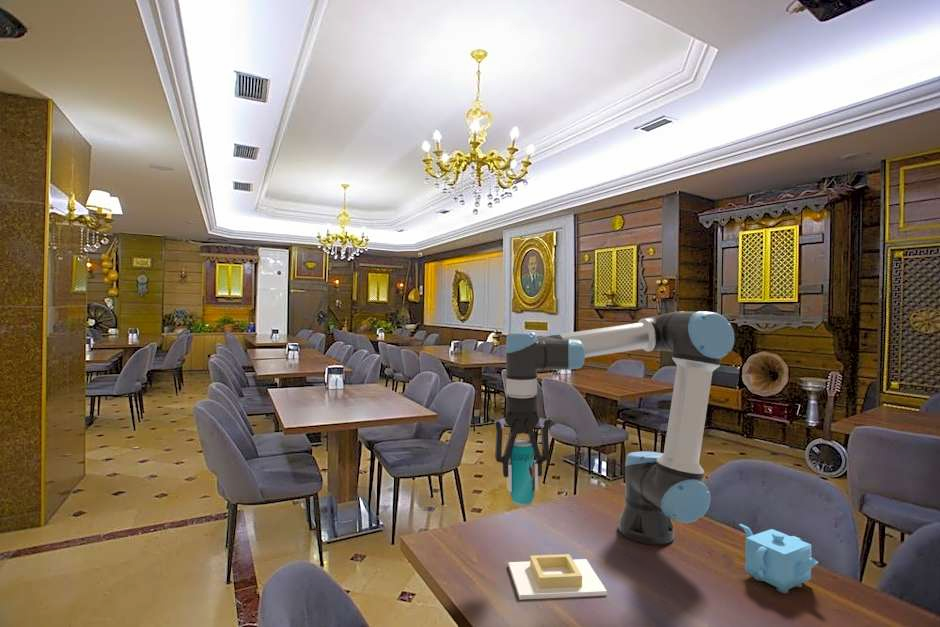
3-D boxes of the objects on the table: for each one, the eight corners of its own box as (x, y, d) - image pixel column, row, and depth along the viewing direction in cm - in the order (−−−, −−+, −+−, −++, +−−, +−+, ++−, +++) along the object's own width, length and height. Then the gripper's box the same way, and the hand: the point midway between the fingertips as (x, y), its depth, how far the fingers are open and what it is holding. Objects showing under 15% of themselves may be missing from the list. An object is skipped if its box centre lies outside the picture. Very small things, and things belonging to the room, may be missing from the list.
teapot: (796, 609, 104) (797, 557, 104) (719, 569, 120) (720, 524, 120) (835, 590, 111) (836, 541, 111) (758, 555, 127) (759, 512, 127)
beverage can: (532, 508, 115) (532, 445, 115) (509, 506, 116) (508, 444, 116) (535, 499, 121) (534, 439, 120) (512, 497, 122) (511, 438, 122)
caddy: (586, 562, 122) (586, 549, 122) (606, 595, 108) (607, 579, 108) (508, 566, 120) (508, 552, 120) (519, 599, 107) (519, 583, 107)
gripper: (555, 391, 123) (556, 482, 123) (482, 393, 121) (483, 485, 121) (563, 397, 115) (563, 493, 115) (485, 398, 114) (486, 496, 114)
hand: (522, 489), depth 118 cm, fingers closed on beverage can, 6 cm apart
